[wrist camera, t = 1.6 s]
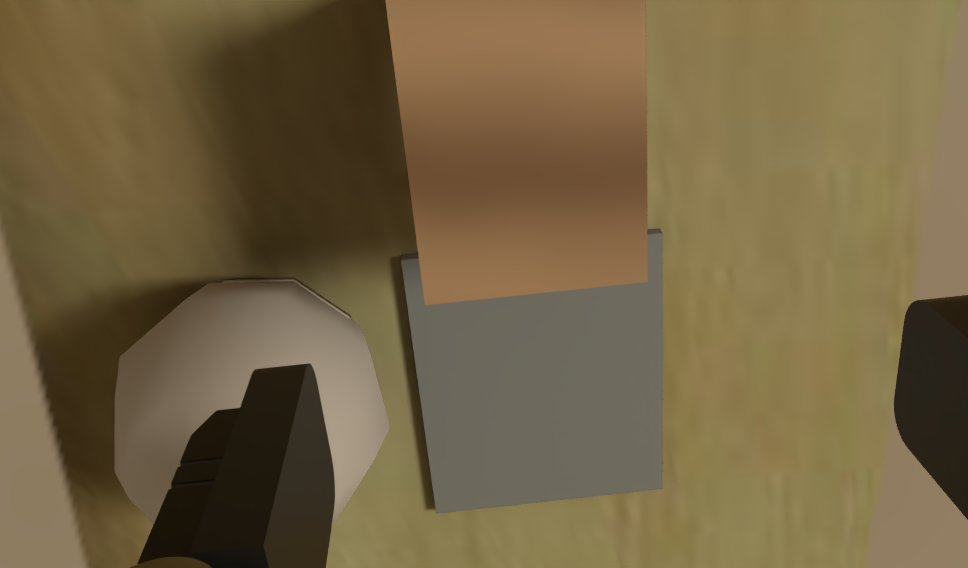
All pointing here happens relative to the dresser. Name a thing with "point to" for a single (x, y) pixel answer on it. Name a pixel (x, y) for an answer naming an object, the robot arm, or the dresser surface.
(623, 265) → the small wooden bench
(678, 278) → the dresser surface
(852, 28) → the dresser surface
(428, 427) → the mat
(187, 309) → the potion bottle
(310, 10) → the dresser surface
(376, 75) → the dresser surface
